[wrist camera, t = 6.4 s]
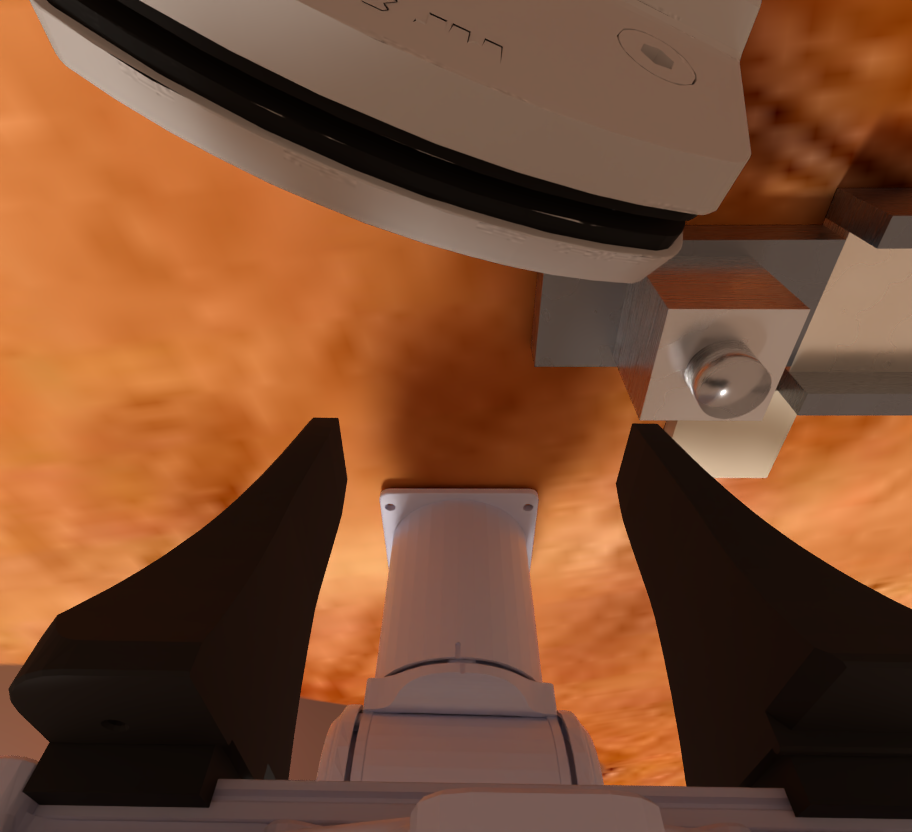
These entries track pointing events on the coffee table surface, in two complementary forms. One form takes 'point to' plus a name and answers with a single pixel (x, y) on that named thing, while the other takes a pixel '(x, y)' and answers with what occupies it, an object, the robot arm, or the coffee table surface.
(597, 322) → the flange rail
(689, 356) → the block
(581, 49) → the grey rounded housing
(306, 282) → the coffee table surface
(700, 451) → the pad
